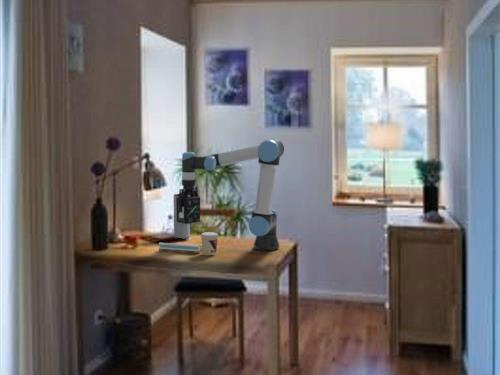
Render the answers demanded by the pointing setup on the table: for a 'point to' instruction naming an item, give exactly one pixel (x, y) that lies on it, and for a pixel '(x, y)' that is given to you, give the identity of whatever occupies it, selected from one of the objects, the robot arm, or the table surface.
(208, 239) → the coffee cup
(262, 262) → the table surface
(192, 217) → the tampon box
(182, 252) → the shelf board
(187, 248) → the price rail
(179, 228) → the vase
